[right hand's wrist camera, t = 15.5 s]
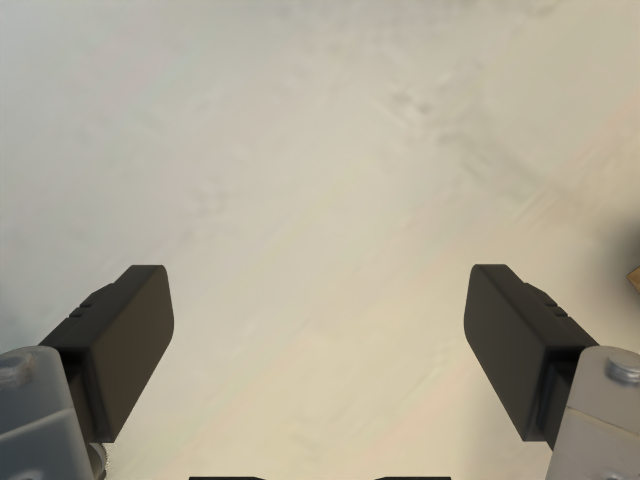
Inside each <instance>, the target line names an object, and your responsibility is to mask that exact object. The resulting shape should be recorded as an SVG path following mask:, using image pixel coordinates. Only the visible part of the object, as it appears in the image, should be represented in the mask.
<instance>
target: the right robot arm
mask: <svg viewBox="0 0 640 480" xmlns="http://www.w3.org/2000/svg"><path fill="white" fill-rule="evenodd" d="M173 330H174V315H173V309H172V302H171V296H170V289H169V282H168V276H167V272H166V269H165V267H164V266H163V265H132V266H130V267H129V268H128V269H127V270H126V271H125V272H124V273H123V274H122V275H121V276H120V277H119V278H118V279H117V280H116V281H115V282H114V283H110V284H108V285H107V286H105V287H103V288H101V289H99V290H97V291H95V292H93V293H92V294H91V295H90V296H89V297H88V298H86V299H85V300H84V301H83V302H82V303H81V304H80V307H79V308H76V309H75V310H74V311H73V312H72V313H71V314H70V315H69V318H66V319H65V320H63V321H62V322H61V323H60V324H59V325H58V326H57V327H56V328H55V329H54V330H53V331H52V332H51V333H50V334H49V335H48V336H47V337H46V338H45V339H44V340H43V341H42V342H41V343H39V344H38V345H37V346H30V347H24V348H19V349H16V350H12V351H9V352H6V353H4V354H1V355H0V480H104V479H105V477H106V475H107V474H106V472H105V471H104V468H105V466H106V454H105V451H104V449H103V447H102V446H101V445H100V443H114V441H115V439H116V438H117V436H118V434H119V432H120V431H121V429H122V427H123V425H124V423H125V422H126V420H127V418H128V416H129V415H130V413H131V411H132V409H133V407H134V406H135V404H136V402H137V400H138V398H139V397H140V395H141V393H142V391H143V390H144V388H145V386H146V384H147V382H148V381H149V379H150V377H151V375H152V374H153V372H154V370H155V368H156V366H157V365H158V363H159V361H160V359H161V357H162V356H163V354H164V352H165V350H166V349H167V347H168V345H169V343H170V341H171V339H172V335H173ZM464 331H465V335H466V339H467V341H468V343H469V345H470V347H471V348H472V350H473V352H474V354H475V356H476V357H477V359H478V361H479V363H480V365H481V366H482V368H483V370H484V372H485V374H486V375H487V377H488V379H489V381H490V383H491V384H492V386H493V388H494V390H495V392H496V393H497V395H498V397H499V399H500V401H501V402H502V404H503V406H504V408H505V410H506V411H507V413H508V415H509V417H510V419H511V420H512V422H513V424H514V426H515V428H516V430H517V431H518V433H519V435H520V437H521V439H522V440H523V441H546V442H547V443H548V445H549V447H550V448H551V450H552V451H553V454H552V458H551V461H550V465H549V468H548V472H547V475H546V479H545V480H640V355H639V354H636V353H634V352H631V351H628V350H624V349H621V348H616V347H610V346H600V345H599V344H598V343H597V342H596V341H595V340H594V339H593V338H592V337H591V336H590V335H589V334H588V333H587V332H586V331H585V330H584V329H582V328H581V327H580V326H579V325H578V324H577V323H576V322H575V321H574V320H573V319H572V318H571V317H568V314H567V313H566V312H565V311H564V310H563V309H562V308H561V307H558V306H557V303H556V302H555V301H554V300H552V299H551V298H550V297H549V296H548V295H547V294H546V293H545V292H543V291H541V290H540V289H538V288H536V287H534V286H532V285H530V284H528V283H524V282H523V281H522V280H521V279H520V278H519V277H518V276H517V275H516V274H515V273H514V272H513V271H512V270H511V269H510V268H509V267H508V266H507V265H505V264H476V265H474V266H473V268H472V270H471V274H470V280H469V286H468V293H467V300H466V307H465V313H464ZM189 480H264V479H260V478H257V477H189ZM376 480H451V477H383V478H380V479H376Z"/></svg>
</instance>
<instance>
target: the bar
mask: <svg viewBox="0 0 640 480" xmlns="http://www.w3.org/2000/svg"><path fill="white" fill-rule="evenodd" d="M626 277H627V278H628V280H629V281H630V282H631V283H632V284H633V286H634V287H635V288H636V289H637V291H638V292H639V293H640V267H639V268H637V269H636V270H634V271H633V272H632V273H630V274H629V275H627V276H626Z"/></svg>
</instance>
